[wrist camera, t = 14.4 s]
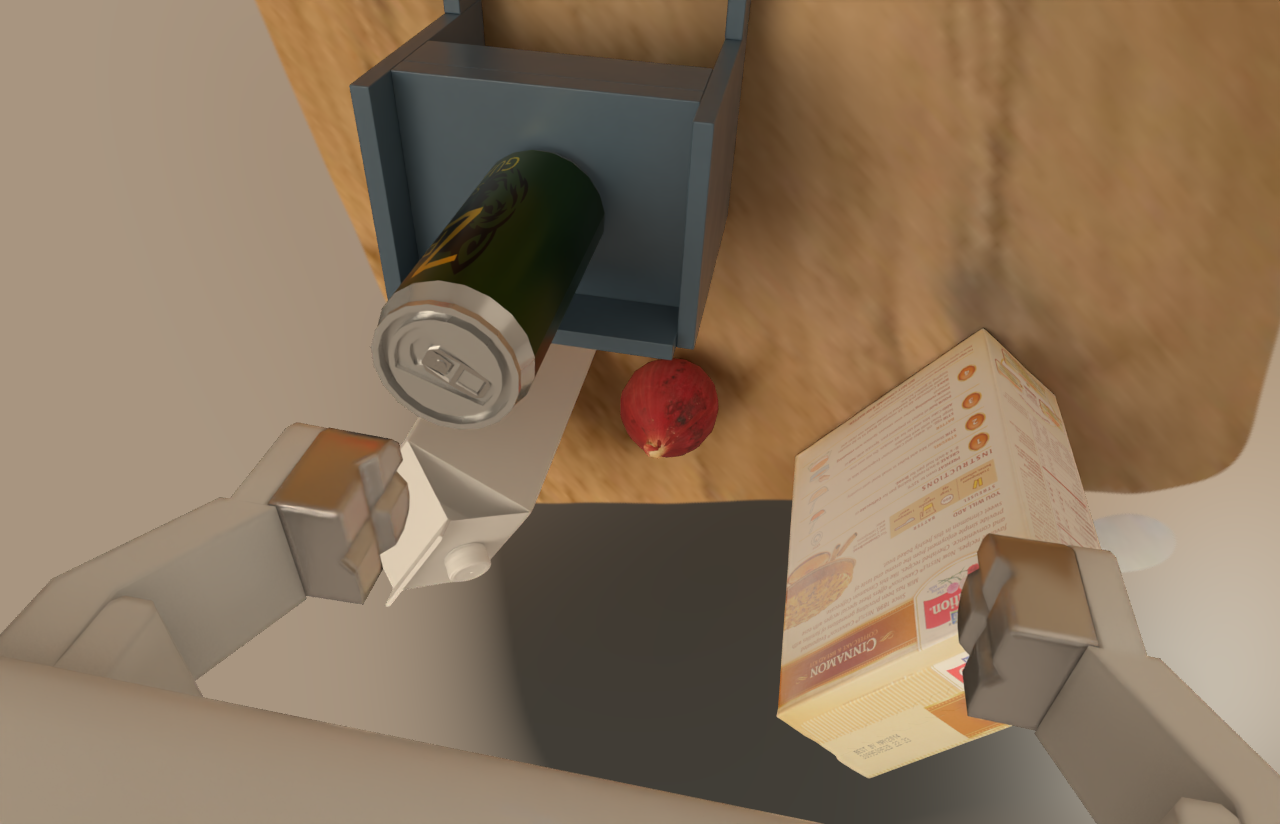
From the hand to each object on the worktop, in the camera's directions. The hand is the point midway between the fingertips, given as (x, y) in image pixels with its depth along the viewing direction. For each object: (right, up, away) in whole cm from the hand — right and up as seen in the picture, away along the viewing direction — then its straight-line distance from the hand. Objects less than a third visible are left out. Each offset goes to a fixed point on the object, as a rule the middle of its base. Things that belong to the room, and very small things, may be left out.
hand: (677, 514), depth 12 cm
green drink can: (-4, +10, +25) cm, 27 cm away
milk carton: (-8, +6, +44) cm, 45 cm away
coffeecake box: (+17, +1, +42) cm, 45 cm away
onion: (+2, +4, +43) cm, 43 cm away
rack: (-2, +21, +30) cm, 36 cm away
